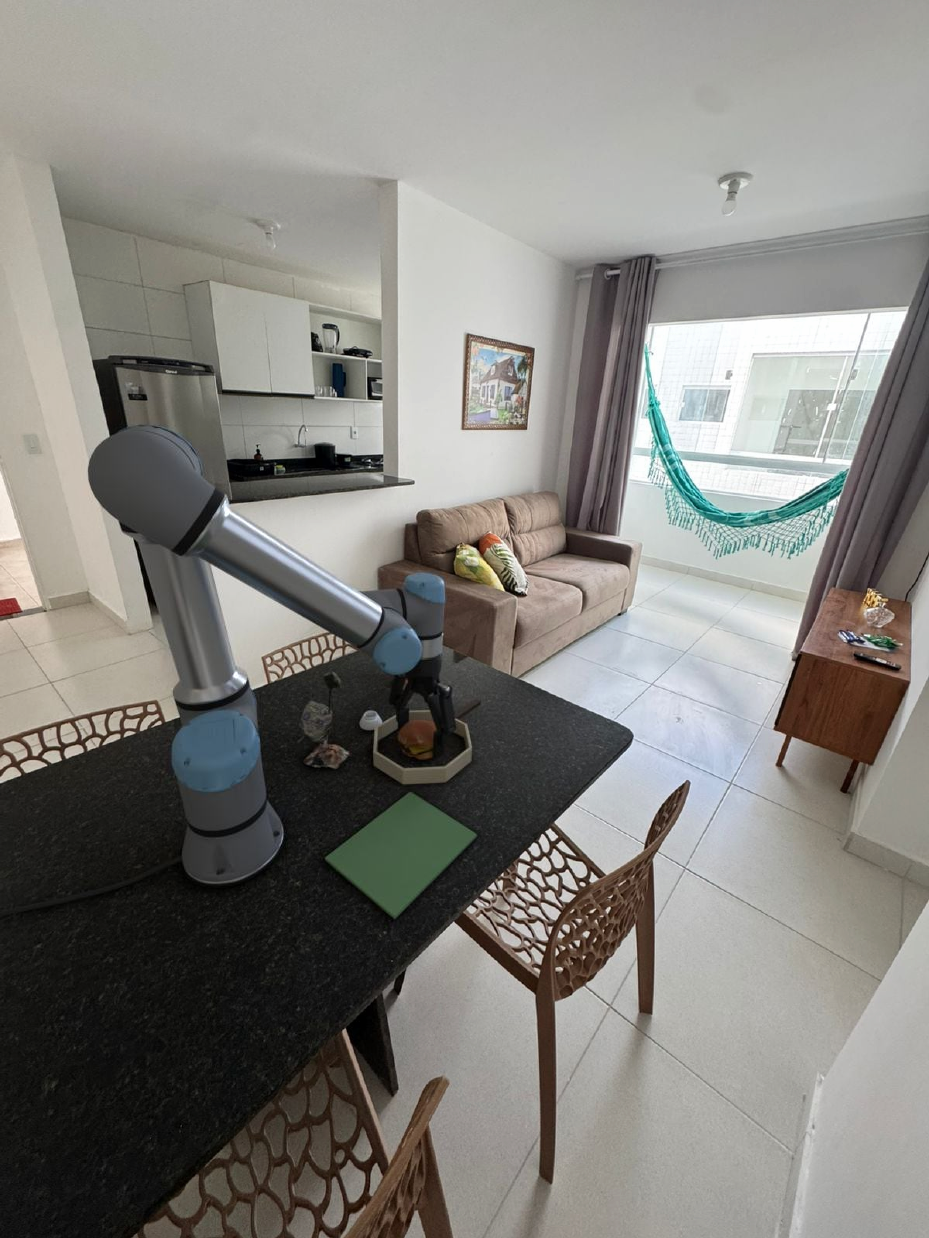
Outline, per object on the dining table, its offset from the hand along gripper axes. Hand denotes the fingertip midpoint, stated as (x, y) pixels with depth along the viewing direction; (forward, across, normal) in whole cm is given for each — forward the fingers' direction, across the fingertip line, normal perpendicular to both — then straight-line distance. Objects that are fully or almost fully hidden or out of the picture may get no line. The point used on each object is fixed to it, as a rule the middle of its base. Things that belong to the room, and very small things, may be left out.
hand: (420, 745), depth 109 cm
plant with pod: (+2, +14, +15) cm, 20 cm away
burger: (0, 0, 0) cm, 1 cm away
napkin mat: (+2, -15, +21) cm, 26 cm away
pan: (+1, 0, -5) cm, 6 cm away
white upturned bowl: (+2, +15, +1) cm, 15 cm away
